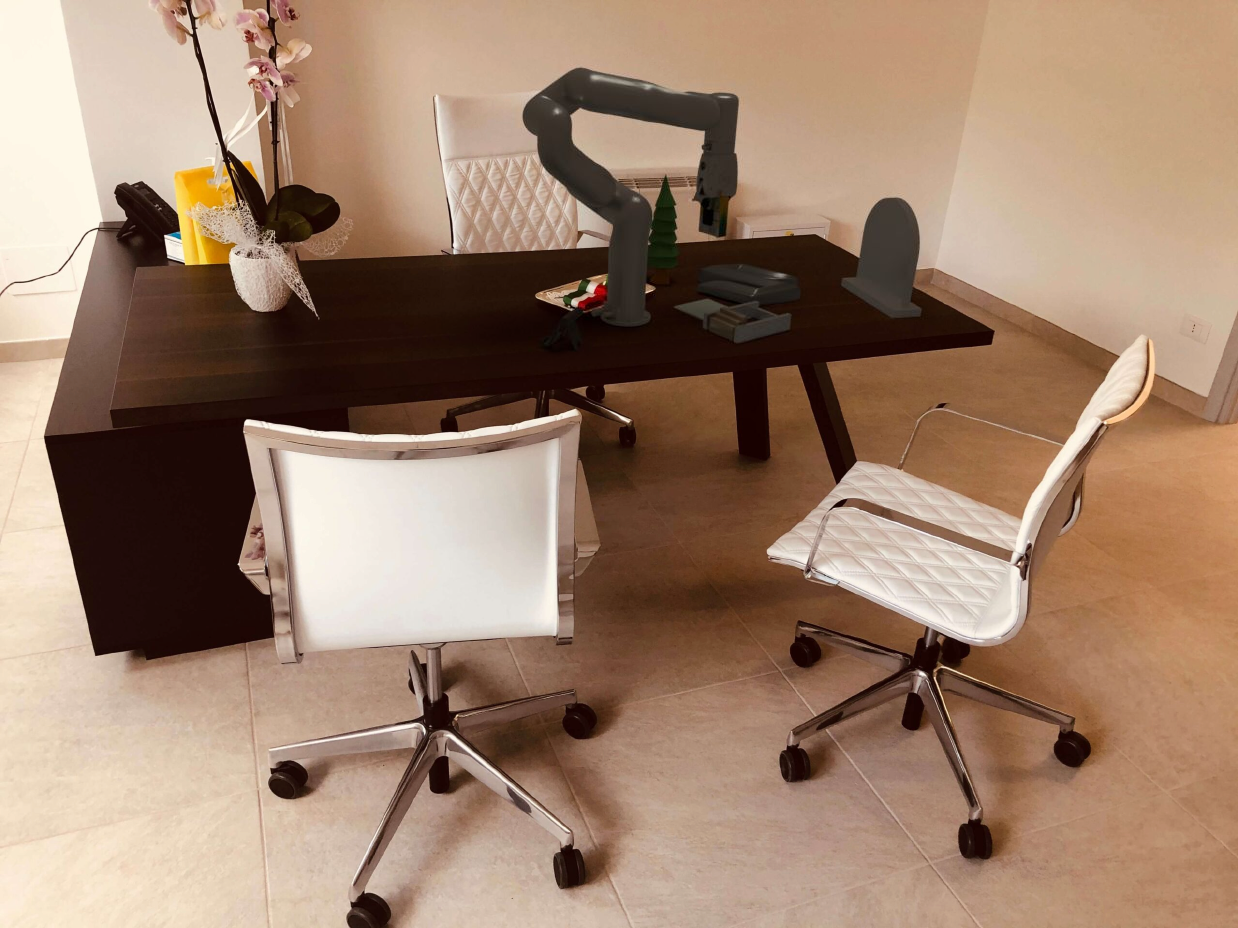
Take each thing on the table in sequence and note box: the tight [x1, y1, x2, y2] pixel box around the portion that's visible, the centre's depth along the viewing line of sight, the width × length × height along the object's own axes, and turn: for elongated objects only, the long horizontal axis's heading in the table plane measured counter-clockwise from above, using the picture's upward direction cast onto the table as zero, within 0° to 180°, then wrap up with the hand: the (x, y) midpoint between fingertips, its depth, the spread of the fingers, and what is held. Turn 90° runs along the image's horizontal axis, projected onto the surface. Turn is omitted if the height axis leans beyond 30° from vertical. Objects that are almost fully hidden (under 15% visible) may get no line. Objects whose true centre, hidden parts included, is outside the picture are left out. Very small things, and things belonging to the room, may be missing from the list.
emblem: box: [696, 263, 801, 307], centre depth 267 cm, size 28×5×28 cm
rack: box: [702, 301, 792, 344], centre depth 240 cm, size 18×12×4 cm
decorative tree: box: [647, 174, 680, 285], centre depth 266 cm, size 10×9×30 cm
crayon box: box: [698, 190, 730, 239], centre depth 240 cm, size 7×3×12 cm, turn 38°
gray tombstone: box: [840, 196, 922, 319], centre depth 258 cm, size 28×9×28 cm, turn 17°
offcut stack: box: [708, 307, 748, 342], centre depth 236 cm, size 4×8×6 cm, turn 38°
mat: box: [673, 298, 728, 321], centre depth 252 cm, size 12×12×1 cm
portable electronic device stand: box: [540, 306, 584, 351], centre depth 225 cm, size 9×8×8 cm
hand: (712, 223), depth 242 cm, fingers closed on crayon box, 3 cm apart
